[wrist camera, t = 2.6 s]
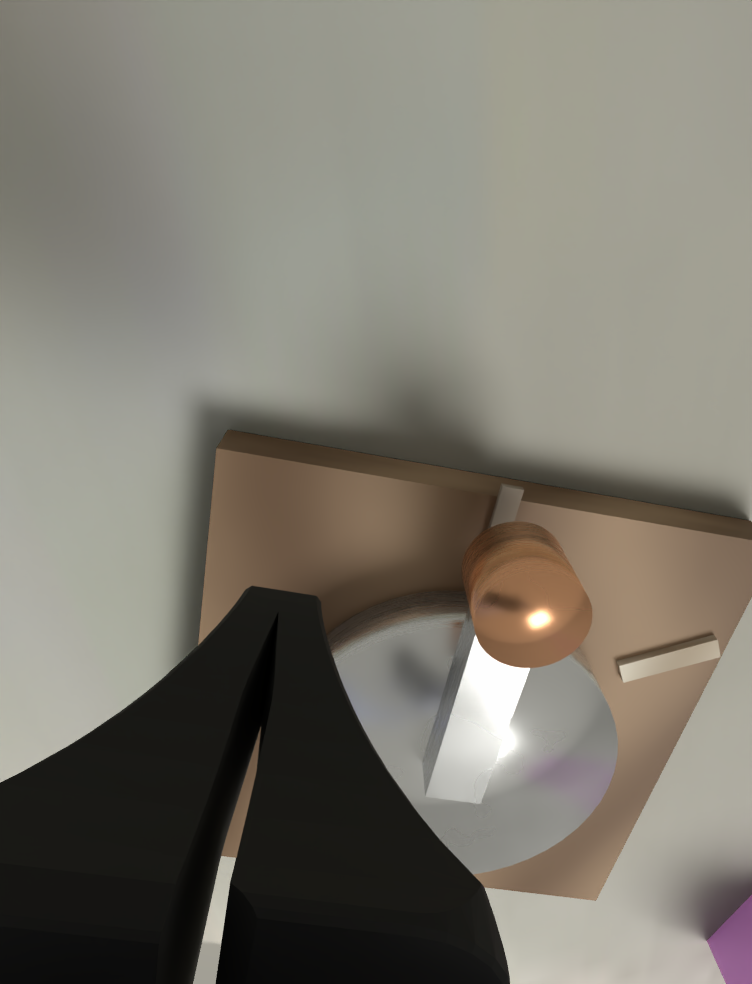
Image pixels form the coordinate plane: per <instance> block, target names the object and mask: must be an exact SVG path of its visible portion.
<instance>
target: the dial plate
mask: <svg viewBox="0 0 752 984" xmlns="http://www.w3.org/2000/svg"><path fill="white" fill-rule="evenodd" d="M515 521H521V522H528V523H533V524H536V525H538V526H541V527H543V528H544V529H546V530H547V531H549V532H550V533H551V534H552V535H553V536H554V537H555V538H556V539H557V541H558V542H559V544H560V546H561V547H562V549H563V551H564V553H565V555H566V557H567V559H568V560H569V562H570V564H571V566H572V568H573V570H574V571H575V573H576V575H577V577H578V579H579V581H580V583H581V584H582V586H583V588H584V590H585V592H586V594H587V595H588V597H589V599H590V602H591V605H592V624H591V627H590V630H589V632H588V634H587V636H586V638H585V639H584V641H583V642H582V643H581V645H580V646H579V648H580V649H581V650H582V652H583V654H584V656H585V657H586V659H587V661H588V663H589V664H590V666H591V669H592V671H593V673H594V675H595V677H596V679H597V681H598V684H599V686H600V688H601V690H602V692H603V694H604V696H605V699H606V701H607V703H608V705H609V707H610V710H611V713H612V716H613V718H614V721H615V725H616V731H617V738H618V754H617V761H616V766H615V771H614V774H613V777H612V779H611V782H610V785H609V787H608V789H607V791H606V793H605V794H604V796H603V798H602V800H601V801H600V803H599V804H598V806H597V807H596V808H595V809H594V811H593V812H592V813H591V815H590V816H589V817H588V818H587V819H586V820H585V821H584V822H583V823H582V824H581V825H580V826H579V827H578V828H577V829H576V830H575V831H573V832H572V833H571V834H570V835H568V836H567V837H566V838H564V839H563V840H562V841H560V842H559V843H557V844H555V845H554V846H552V847H551V848H549V849H547V850H546V851H544V852H542V853H540V854H538V855H536V856H534V857H532V858H530V859H527V860H524V861H522V862H519V863H517V864H514V865H511V866H508V867H504V868H501V869H497V870H494V871H489V872H484V873H478V874H473V875H474V876H475V877H476V878H477V879H478V880H479V881H480V882H481V883H482V885H483V886H484V887H486V888H495V889H503V890H512V891H520V892H528V893H537V894H545V895H553V896H562V897H570V898H579V899H587V900H595V901H596V899H597V898H598V896H599V894H600V892H601V890H602V888H603V886H604V884H605V882H606V880H607V878H608V876H609V874H610V872H611V870H612V868H613V866H614V864H615V862H616V861H617V859H618V857H619V855H620V853H621V851H622V849H623V847H624V845H625V843H626V841H627V839H628V837H629V835H630V833H631V831H632V829H633V827H634V825H635V823H636V822H637V820H638V818H639V816H640V814H641V812H642V810H643V808H644V806H645V804H646V802H647V800H648V798H649V796H650V794H651V792H652V790H653V788H654V786H655V784H656V783H657V781H658V779H659V777H660V775H661V773H662V771H663V769H664V767H665V765H666V763H667V761H668V759H669V757H670V755H671V753H672V751H673V749H674V747H675V746H676V744H677V742H678V740H679V738H680V736H681V734H682V732H683V730H684V728H685V726H686V724H687V722H688V720H689V718H690V716H691V714H692V712H693V710H694V708H695V707H696V705H697V703H698V701H699V699H700V697H701V695H702V693H703V691H704V689H705V687H706V685H707V683H708V681H709V679H710V677H711V675H712V673H713V671H714V669H715V668H716V666H717V664H718V662H719V660H720V658H721V656H722V654H723V652H724V650H725V648H726V646H727V644H728V642H729V640H730V638H731V636H732V634H733V632H734V630H735V629H736V627H737V625H738V623H739V621H740V619H741V617H742V615H743V613H744V611H745V609H746V607H747V605H748V603H749V601H750V599H751V597H752V522H751V521H749V520H743V519H737V518H731V517H726V516H720V515H714V514H708V513H703V512H697V511H691V510H686V509H680V508H674V507H668V506H663V505H657V504H651V503H645V502H640V501H634V500H628V499H623V498H617V497H611V496H605V495H600V494H594V493H588V492H582V491H577V490H571V489H565V488H560V487H554V486H548V485H542V484H537V483H531V482H525V481H519V480H514V479H508V478H502V477H497V476H491V475H485V474H479V473H474V472H468V471H462V470H456V469H451V468H445V467H439V466H434V465H428V464H422V463H416V462H411V461H405V460H399V459H394V458H388V457H382V456H376V455H371V454H365V453H359V452H353V451H348V450H342V449H336V448H331V447H325V446H319V445H313V444H308V443H302V442H296V441H290V440H285V439H279V438H273V437H268V436H262V435H256V434H250V433H245V432H239V431H233V430H227V432H226V433H225V435H224V437H223V438H222V440H221V442H220V443H219V445H218V446H217V448H216V458H215V469H214V480H213V490H212V501H211V512H210V523H209V534H208V544H207V555H206V566H205V577H204V588H203V598H202V609H201V620H200V631H199V641H198V645H199V644H200V643H201V642H202V641H203V640H204V639H205V638H206V637H207V636H208V634H209V633H210V632H211V631H212V630H213V629H214V628H215V627H216V626H217V625H218V624H219V623H220V622H221V620H222V619H223V618H224V617H225V616H226V615H227V613H228V612H229V611H230V610H231V609H232V607H233V606H234V605H235V603H236V602H237V601H238V599H239V598H240V597H241V595H242V594H243V592H244V591H245V590H246V589H247V588H249V587H250V586H258V587H264V588H270V589H277V590H283V591H290V592H296V593H302V594H309V595H315V596H317V597H318V598H319V600H320V601H321V608H322V616H323V622H324V626H325V631H326V635H327V634H328V633H330V632H331V631H332V630H333V629H334V628H335V627H337V626H338V625H340V624H341V623H343V622H344V621H346V620H347V619H349V618H350V617H352V616H353V615H355V614H357V613H359V612H361V611H363V610H365V609H367V608H369V607H372V606H374V605H377V604H380V603H382V602H385V601H388V600H391V599H394V598H398V597H402V596H407V595H411V594H415V593H424V592H432V591H465V588H464V583H463V579H462V573H461V565H462V560H463V557H464V554H465V552H466V550H467V548H468V547H469V545H470V544H471V542H472V541H473V540H474V539H475V538H476V537H477V536H479V535H480V534H481V533H482V532H484V531H485V530H487V529H489V528H491V527H493V526H496V525H498V524H502V523H506V522H515ZM260 732H261V727H260V731H259V734H258V737H257V740H256V744H255V747H254V750H253V753H252V756H251V760H250V763H249V766H248V769H247V772H246V776H245V779H244V782H243V785H242V788H241V791H240V795H239V798H238V801H237V804H236V807H235V811H234V814H233V817H232V820H231V823H230V826H229V830H228V833H227V836H226V840H225V843H224V847H223V851H222V854H221V856H227V857H235V858H236V857H237V853H238V849H239V845H240V840H241V836H242V832H243V828H244V824H245V819H246V815H247V811H248V806H249V802H250V798H251V793H252V789H253V785H254V780H255V776H256V771H257V761H258V752H259V742H260Z"/></svg>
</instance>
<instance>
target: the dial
mask: <svg viewBox="0 0 752 984" xmlns="http://www.w3.org/2000/svg"><path fill="white" fill-rule="evenodd" d="M461 573H462V579H463V583H464V588H465V591H432V592H424V593H415V594H411V595H407V596H402V597H398V598H394V599H391V600H388V601H385V602H382V603H380V604H377V605H374V606H372V607H369V608H367V609H365V610H363V611H361V612H359V613H357V614H355V615H353V616H352V617H350V618H349V619H347V620H346V621H344V622H343V623H341V624H340V625H338V626H337V627H335V628H334V629H333V630H332V631H331V632H330V633H328V634H327V638H328V642H329V646H330V649H331V652H332V655H333V658H334V661H335V664H336V667H337V670H338V672H339V675H340V678H341V680H342V683H343V685H344V688H345V690H346V693H347V695H348V697H349V699H350V702H351V704H352V706H353V708H354V710H355V713H356V715H357V717H358V719H359V721H360V723H361V725H362V727H363V729H364V730H365V732H366V734H367V736H368V738H369V739H370V741H371V743H372V745H373V747H374V748H375V750H376V752H377V753H378V755H379V757H380V758H381V760H382V762H383V763H384V765H385V766H386V768H387V770H388V771H389V773H390V774H391V776H392V777H393V778H394V780H395V781H396V783H397V784H398V785H399V787H400V788H401V790H402V791H403V792H404V794H405V795H406V797H407V798H408V799H409V801H410V802H411V804H412V805H413V806H414V808H415V809H416V811H417V812H418V813H419V815H420V816H421V817H422V818H423V820H424V821H425V822H426V823H427V824H428V826H429V827H430V828H431V829H432V831H433V832H434V833H435V834H436V836H437V837H438V838H439V839H440V840H441V841H442V843H443V844H444V845H445V846H446V847H447V848H448V849H449V850H450V851H451V852H452V853H453V854H454V855H455V856H456V857H457V858H458V859H459V860H460V861H461V862H462V863H463V864H464V866H465V867H466V868H467V869H468V870H469V871H470V872H471V873H472V874H478V873H484V872H489V871H494V870H497V869H501V868H504V867H508V866H511V865H514V864H517V863H519V862H522V861H524V860H527V859H530V858H532V857H534V856H536V855H538V854H540V853H542V852H544V851H546V850H547V849H549V848H551V847H552V846H554V845H555V844H557V843H559V842H560V841H562V840H563V839H564V838H566V837H567V836H568V835H570V834H571V833H572V832H573V831H575V830H576V829H577V828H578V827H579V826H580V825H581V824H582V823H583V822H584V821H585V820H586V819H587V818H588V817H589V816H590V815H591V813H592V812H593V811H594V809H595V808H596V807H597V806H598V804H599V803H600V801H601V800H602V798H603V796H604V794H605V793H606V791H607V789H608V787H609V785H610V782H611V779H612V777H613V774H614V771H615V766H616V761H617V754H618V738H617V731H616V725H615V721H614V718H613V716H612V713H611V710H610V707H609V705H608V703H607V701H606V699H605V696H604V694H603V692H602V690H601V688H600V686H599V684H598V681H597V679H596V677H595V675H594V673H593V671H592V669H591V666H590V664H589V663H588V661H587V659H586V657H585V656H584V654H583V652H582V650H581V649H580V648H579V646H580V645H581V643H582V642H583V641H584V639H585V638H586V636H587V634H588V632H589V630H590V627H591V624H592V605H591V602H590V599H589V597H588V595H587V594H586V592H585V590H584V588H583V586H582V584H581V583H580V581H579V579H578V577H577V575H576V573H575V571H574V570H573V568H572V566H571V564H570V562H569V560H568V559H567V557H566V555H565V553H564V551H563V549H562V547H561V546H560V544H559V542H558V541H557V539H556V538H555V537H554V536H553V535H552V534H551V533H550V532H549V531H547V530H546V529H544V528H543V527H541V526H538V525H536V524H533V523H528V522H521V521H515V522H506V523H502V524H498V525H496V526H493V527H491V528H489V529H487V530H485V531H484V532H482V533H481V534H480V535H479V536H477V537H476V538H475V539H474V540H473V541H472V542H471V544H470V545H469V547H468V548H467V550H466V552H465V554H464V557H463V560H462V565H461Z"/></svg>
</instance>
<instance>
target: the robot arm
mask: <svg viewBox="0 0 752 984" xmlns="http://www.w3.org/2000/svg"><path fill="white" fill-rule="evenodd" d="M260 727H261V732H260V742H259V752H258V761H257V771H256V776H255V780H254V785H253V789H252V793H251V798H250V802H249V806H248V811H247V815H246V819H245V824H244V828H243V832H242V836H241V840H240V845H239V849H238V853H237V857H236V861H235V866H234V870H233V874H232V878H231V882H230V888H229V895H228V902H227V909H226V916H225V923H224V930H223V937H222V943H221V951H220V957H219V964H218V971H217V978H216V984H510V978H509V971H508V965H507V960H506V956H505V952H504V948H503V944H502V941H501V938H500V934H499V931H498V927H497V924H496V921H495V917H494V914H493V911H492V908H491V906H490V903H489V900H488V897H487V894H486V891H485V889H484V886H483V885H482V883H481V882H480V881H479V880H478V879H477V878H476V877H475V876H474V875H473V874H472V873H471V872H470V871H469V870H468V869H467V868H466V867H465V866H464V864H463V863H462V862H461V861H460V860H459V859H458V858H457V857H456V856H455V855H454V854H453V853H452V852H451V851H450V850H449V849H448V848H447V847H446V846H445V845H444V844H443V843H442V841H441V840H440V839H439V838H438V837H437V836H436V834H435V833H434V832H433V831H432V829H431V828H430V827H429V826H428V824H427V823H426V822H425V821H424V820H423V818H422V817H421V816H420V815H419V813H418V812H417V811H416V809H415V808H414V806H413V805H412V804H411V802H410V801H409V799H408V798H407V797H406V795H405V794H404V792H403V791H402V790H401V788H400V787H399V785H398V784H397V783H396V781H395V780H394V778H393V777H392V776H391V774H390V773H389V771H388V770H387V768H386V766H385V765H384V763H383V762H382V760H381V758H380V757H379V755H378V753H377V752H376V750H375V748H374V747H373V745H372V743H371V741H370V739H369V738H368V736H367V734H366V732H365V730H364V729H363V727H362V725H361V723H360V721H359V719H358V717H357V715H356V713H355V710H354V708H353V706H352V704H351V702H350V699H349V697H348V695H347V693H346V690H345V688H344V685H343V683H342V680H341V678H340V675H339V672H338V670H337V667H336V664H335V661H334V658H333V655H332V652H331V649H330V646H329V642H328V638H327V635H326V631H325V626H324V622H323V616H322V608H321V601H320V600H319V598H318V597H317V596H315V595H309V594H302V593H296V592H290V591H283V590H277V589H270V588H264V587H258V586H250V587H249V588H247V589H246V590H245V591H244V592H243V594H242V595H241V597H240V598H239V599H238V601H237V602H236V603H235V605H234V606H233V607H232V609H231V610H230V611H229V612H228V613H227V615H226V616H225V617H224V618H223V619H222V620H221V622H220V623H219V624H218V625H217V626H216V627H215V628H214V629H213V630H212V631H211V632H210V633H209V634H208V636H207V637H206V638H205V639H204V640H203V641H202V642H201V643H200V644H199V645H198V646H197V647H196V648H195V649H194V650H193V651H192V652H191V653H190V654H189V655H188V656H187V657H186V658H185V659H183V660H182V661H181V662H180V663H179V664H178V665H177V666H176V667H175V668H174V669H173V670H171V671H170V672H169V673H168V674H167V675H166V676H165V677H164V678H163V679H161V680H160V681H159V682H158V683H157V684H155V685H154V686H153V687H152V688H151V689H149V690H148V691H147V692H146V693H144V694H143V695H142V696H141V697H139V698H138V699H137V700H135V701H134V702H133V703H131V704H130V705H129V706H127V707H126V708H125V709H123V710H122V711H121V712H119V713H118V714H116V715H115V716H113V717H112V718H110V719H109V720H107V721H106V722H104V723H103V724H102V725H100V726H99V727H97V728H96V729H94V730H93V731H91V732H90V733H88V734H87V735H85V736H83V737H82V738H80V739H79V740H77V741H76V742H74V743H72V744H71V745H69V746H67V747H66V748H64V749H62V750H60V751H58V752H57V753H55V754H53V755H51V756H49V757H48V758H46V759H44V760H42V761H41V762H39V763H37V764H35V765H33V766H32V767H30V768H28V769H26V770H24V771H23V772H21V773H19V774H17V775H15V776H13V777H11V778H9V779H7V780H5V781H3V782H1V783H0V984H193V981H194V976H195V971H196V967H197V962H198V957H199V953H200V948H201V944H202V939H203V935H204V930H205V925H206V921H207V916H208V912H209V907H210V902H211V898H212V893H213V889H214V884H215V880H216V875H217V871H218V866H219V862H220V858H221V854H222V851H223V847H224V843H225V840H226V836H227V833H228V830H229V826H230V823H231V820H232V817H233V814H234V811H235V807H236V804H237V801H238V798H239V795H240V791H241V788H242V785H243V782H244V779H245V776H246V772H247V769H248V766H249V763H250V760H251V756H252V753H253V750H254V747H255V744H256V740H257V737H258V734H259V731H260Z"/></svg>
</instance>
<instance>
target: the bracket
mask: <svg viewBox="0 0 752 984" xmlns="http://www.w3.org/2000/svg"><path fill="white" fill-rule="evenodd" d="M707 942H708V944H709V947H710V949H711V951H712V953H713V956H714V958H715V960H716V962H717V964H718V967H719V969H720V971H721V973H722V976H723V978H724V980H725V982H726V984H752V895H751V896H750V897H749V898H748V899H747V900H746V901H745V902H744V903H743V904H742V905H741V906H740V907H739V908H738V909H737V910H736V911H735V912H734V913H733V914H732V915H731V916H730V917H729V918H728V919H727V920H726V921H725V922H724V923H723V925H722V926H721V927H720V928H719V929H718V930H717V931H716V932H715V933H714V934H713V935H712V936H711V937H710V938H709V939H708V940H707Z"/></svg>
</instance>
